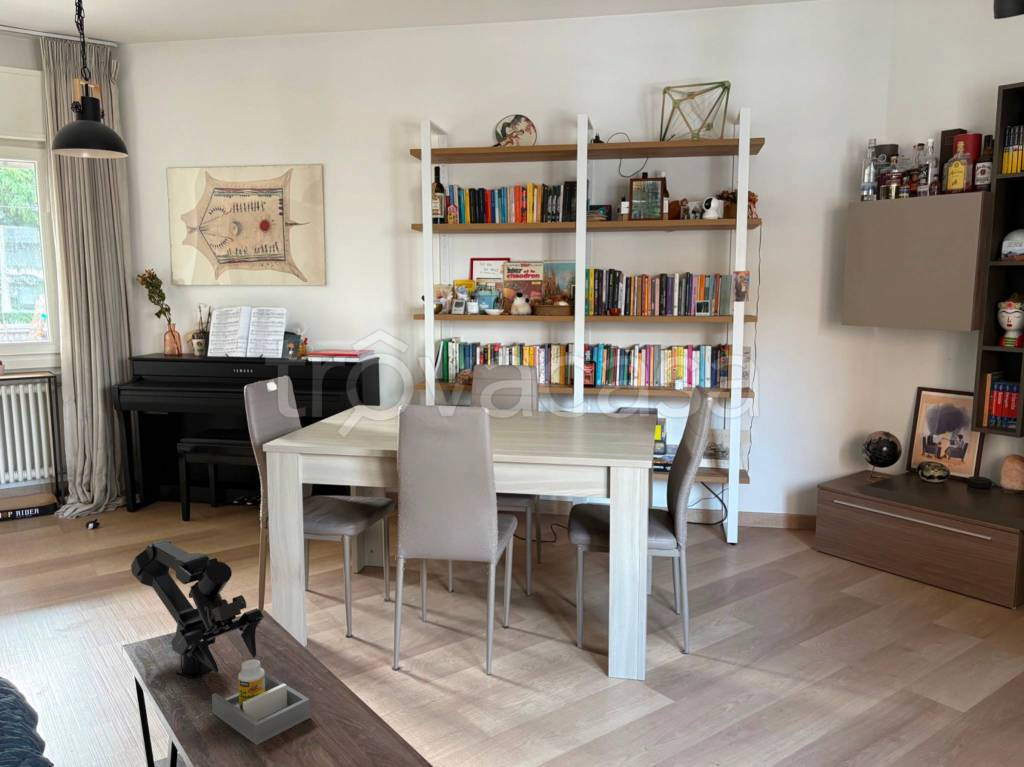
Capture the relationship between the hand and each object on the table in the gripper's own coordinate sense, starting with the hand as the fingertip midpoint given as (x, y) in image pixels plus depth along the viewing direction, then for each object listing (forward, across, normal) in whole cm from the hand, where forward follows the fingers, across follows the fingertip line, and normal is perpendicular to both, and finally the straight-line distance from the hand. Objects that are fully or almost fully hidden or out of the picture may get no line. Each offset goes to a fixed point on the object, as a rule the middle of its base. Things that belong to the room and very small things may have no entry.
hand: (236, 664), depth 169 cm
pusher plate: (+14, 0, -3) cm, 14 cm away
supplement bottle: (+10, 0, +1) cm, 10 cm away
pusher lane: (+13, 0, -1) cm, 13 cm away
